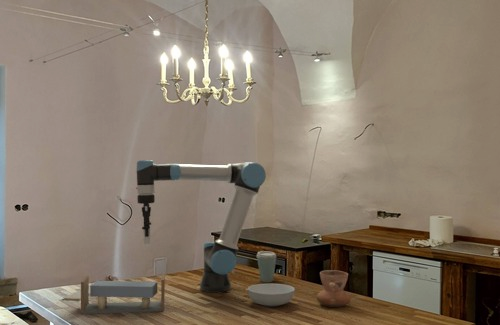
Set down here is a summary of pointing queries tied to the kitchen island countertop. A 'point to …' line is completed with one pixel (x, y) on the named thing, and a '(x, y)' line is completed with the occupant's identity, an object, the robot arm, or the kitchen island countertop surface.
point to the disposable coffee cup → (266, 265)
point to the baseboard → (75, 295)
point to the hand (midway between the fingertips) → (147, 241)
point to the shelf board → (123, 289)
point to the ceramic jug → (333, 289)
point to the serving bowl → (271, 294)
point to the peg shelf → (119, 307)
